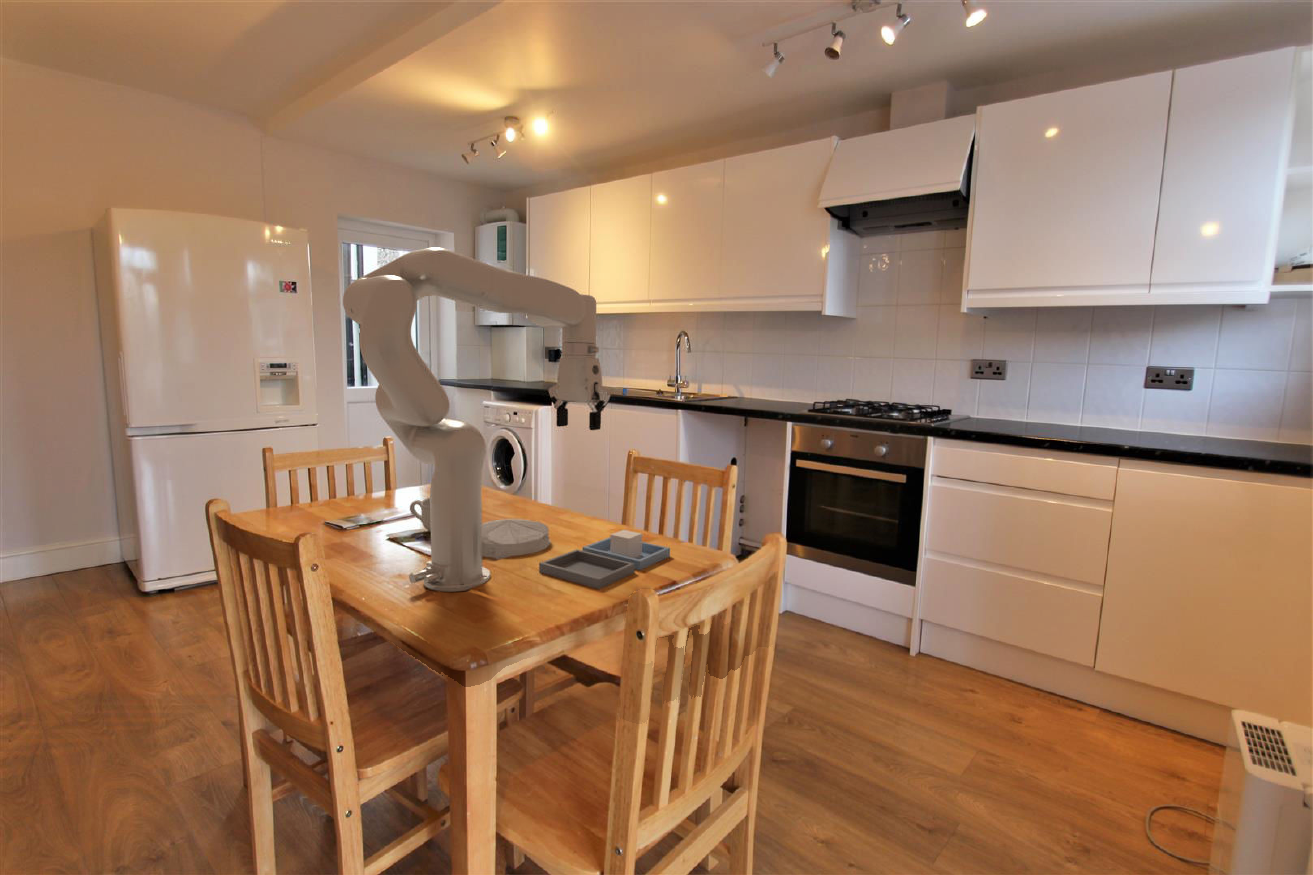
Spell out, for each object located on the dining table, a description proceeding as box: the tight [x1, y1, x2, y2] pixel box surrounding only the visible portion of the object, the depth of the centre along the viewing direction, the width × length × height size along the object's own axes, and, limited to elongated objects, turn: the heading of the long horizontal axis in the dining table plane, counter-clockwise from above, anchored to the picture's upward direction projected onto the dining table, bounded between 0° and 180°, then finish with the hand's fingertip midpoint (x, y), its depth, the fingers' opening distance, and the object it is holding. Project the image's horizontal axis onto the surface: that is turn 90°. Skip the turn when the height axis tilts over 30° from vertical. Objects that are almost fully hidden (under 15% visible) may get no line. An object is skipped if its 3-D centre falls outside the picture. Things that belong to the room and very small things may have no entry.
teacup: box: [409, 497, 431, 533], centre depth 158 cm, size 14×11×8 cm
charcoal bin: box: [538, 548, 636, 590], centre depth 129 cm, size 12×16×2 cm
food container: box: [482, 518, 552, 560], centre depth 147 cm, size 20×20×7 cm
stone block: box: [610, 529, 643, 558], centre depth 140 cm, size 5×5×5 cm
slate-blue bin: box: [582, 536, 671, 571], centre depth 140 cm, size 12×16×2 cm
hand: (578, 427), depth 143 cm, fingers open, 9 cm apart
